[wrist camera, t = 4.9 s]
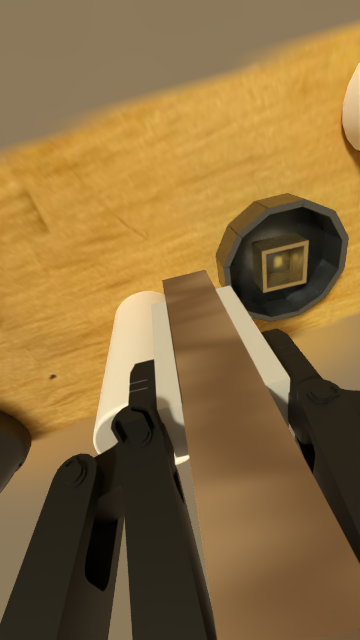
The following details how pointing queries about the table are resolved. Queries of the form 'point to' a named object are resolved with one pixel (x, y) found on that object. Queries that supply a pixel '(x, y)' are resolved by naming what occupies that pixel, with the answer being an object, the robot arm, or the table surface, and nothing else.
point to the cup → (125, 362)
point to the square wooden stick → (254, 489)
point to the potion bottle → (352, 110)
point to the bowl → (282, 256)
